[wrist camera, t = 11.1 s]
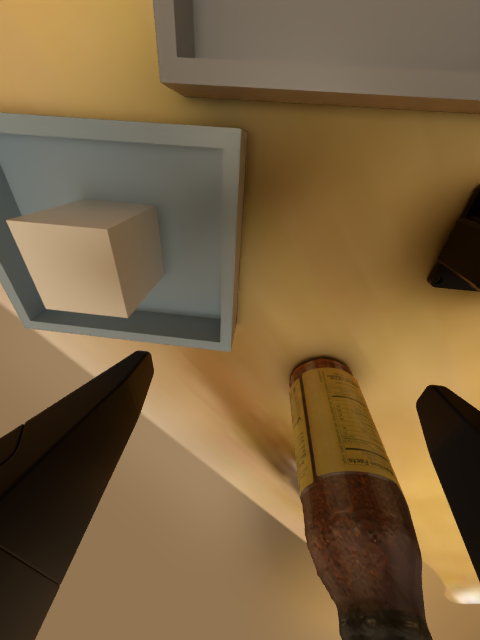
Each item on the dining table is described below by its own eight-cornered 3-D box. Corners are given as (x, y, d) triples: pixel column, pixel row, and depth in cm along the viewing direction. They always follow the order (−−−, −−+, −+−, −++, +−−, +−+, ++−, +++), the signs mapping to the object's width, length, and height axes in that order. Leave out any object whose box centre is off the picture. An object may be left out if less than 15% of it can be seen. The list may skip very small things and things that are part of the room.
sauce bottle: (315, 406, 27) (380, 794, 11) (275, 376, 25) (279, 792, 9) (370, 378, 24) (577, 864, 8) (329, 341, 22) (487, 884, 6)
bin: (247, 132, 14) (241, 128, 11) (236, 324, 22) (230, 351, 19) (-24, 114, 15) (-94, 106, 12) (56, 304, 23) (24, 328, 20)
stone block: (156, 205, 17) (107, 229, 12) (164, 275, 19) (127, 318, 15) (83, 198, 17) (5, 220, 12) (102, 268, 20) (45, 308, 15)
